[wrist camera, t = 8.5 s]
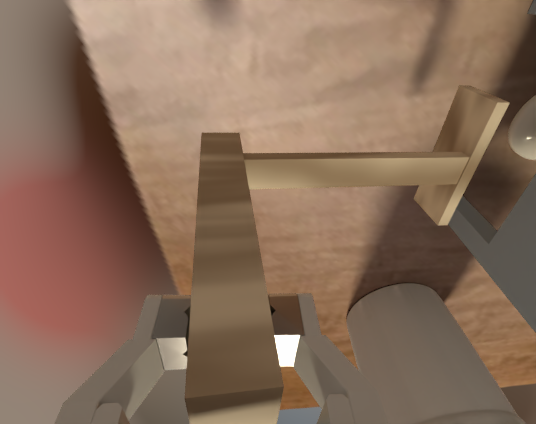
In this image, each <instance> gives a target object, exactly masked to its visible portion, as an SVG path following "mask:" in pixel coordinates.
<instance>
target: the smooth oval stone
mask: <svg viewBox="0 0 536 424" xmlns="http://www.w3.org/2000/svg"><path fill="white" fill-rule="evenodd" d="M508 143H509V146H510V148H511V149H512V150H513V151H514V152H516V153H517V154H519V155H520V156H522V157H524V158H526V159H531V160H536V95H535V96H533V97H532V98H531V99H530V100H528V101H527V102H526V103H525V104H524V105H523V106H522V108H521V109H520V110H519V111H518V113H517V114H516V115H515V117H514V119H513V120H512V122H511V125H510V127H509V131H508Z"/></svg>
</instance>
